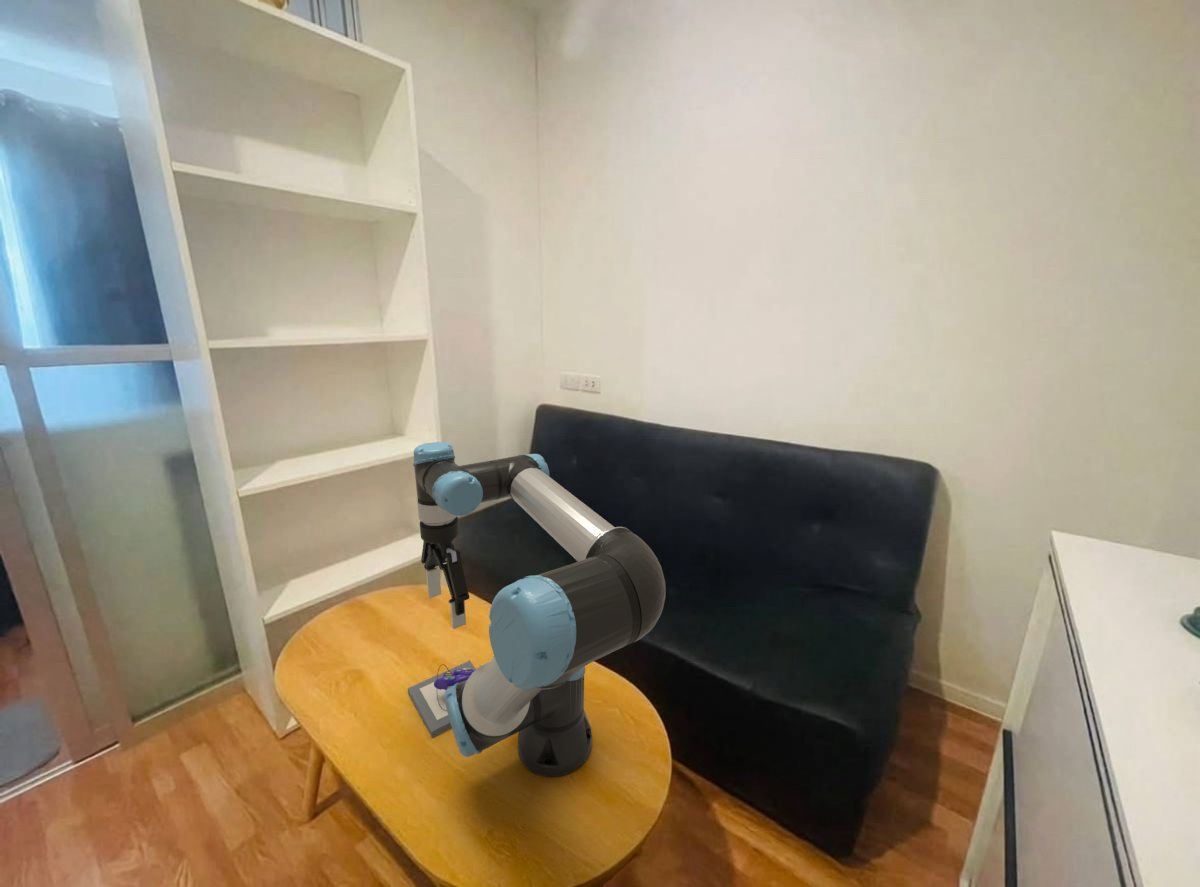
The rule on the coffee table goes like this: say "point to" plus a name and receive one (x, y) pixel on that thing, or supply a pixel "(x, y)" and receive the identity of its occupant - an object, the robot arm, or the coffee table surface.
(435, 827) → the coffee table surface
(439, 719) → the grey picture frame
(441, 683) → the game controller
